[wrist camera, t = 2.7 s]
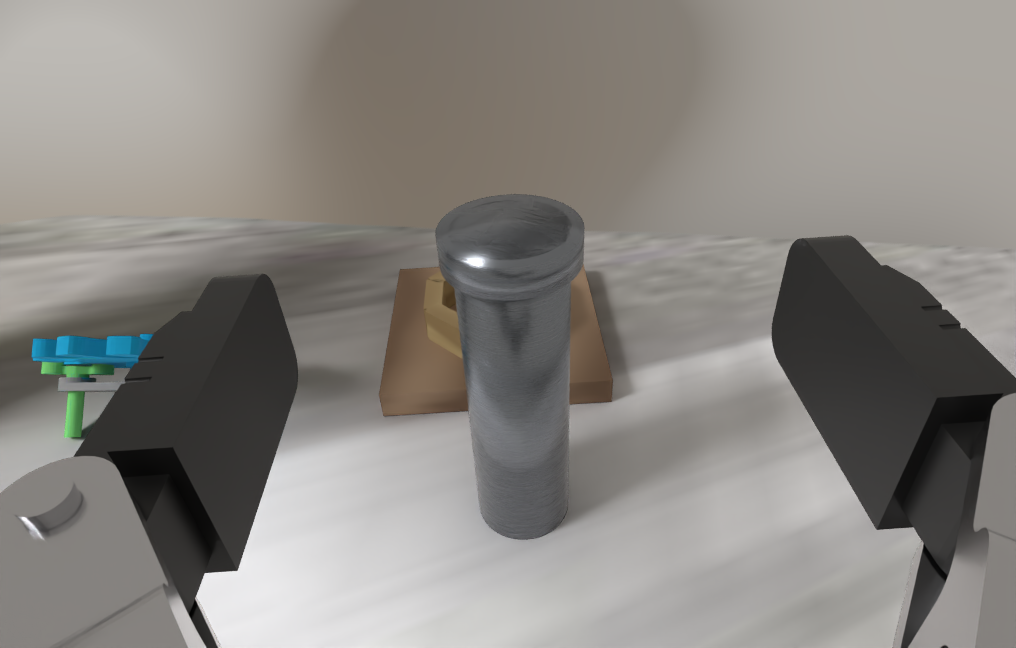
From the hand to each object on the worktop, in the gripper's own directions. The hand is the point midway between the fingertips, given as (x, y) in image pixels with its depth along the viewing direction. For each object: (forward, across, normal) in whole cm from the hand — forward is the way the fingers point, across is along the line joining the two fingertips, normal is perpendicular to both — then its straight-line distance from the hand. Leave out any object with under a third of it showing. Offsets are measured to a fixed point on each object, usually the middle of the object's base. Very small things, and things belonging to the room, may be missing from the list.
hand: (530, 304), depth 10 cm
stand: (+22, +1, +18) cm, 29 cm away
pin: (+10, 0, +18) cm, 21 cm away
